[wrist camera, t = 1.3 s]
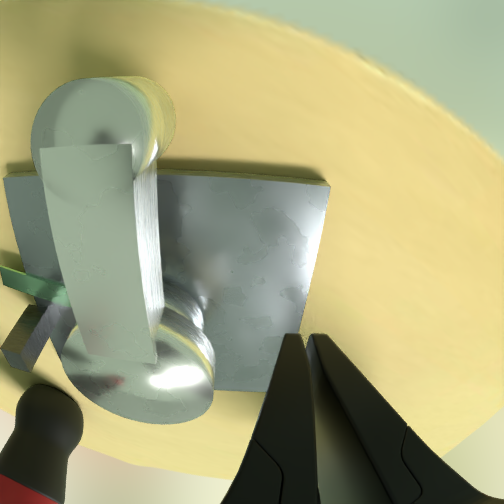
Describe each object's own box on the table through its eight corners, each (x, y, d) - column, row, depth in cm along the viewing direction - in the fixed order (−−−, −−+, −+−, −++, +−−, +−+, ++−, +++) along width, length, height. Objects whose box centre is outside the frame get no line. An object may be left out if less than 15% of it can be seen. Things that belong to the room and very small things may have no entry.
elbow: (216, 380, 22) (213, 436, 18) (102, 366, 21) (84, 416, 17) (231, 75, 12) (224, 72, 8) (49, 86, 11) (-15, 99, 7)
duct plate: (280, 383, 26) (286, 442, 21) (43, 354, 25) (21, 401, 20) (326, 181, 17) (360, 230, 12) (-16, 175, 16) (-71, 211, 10)
